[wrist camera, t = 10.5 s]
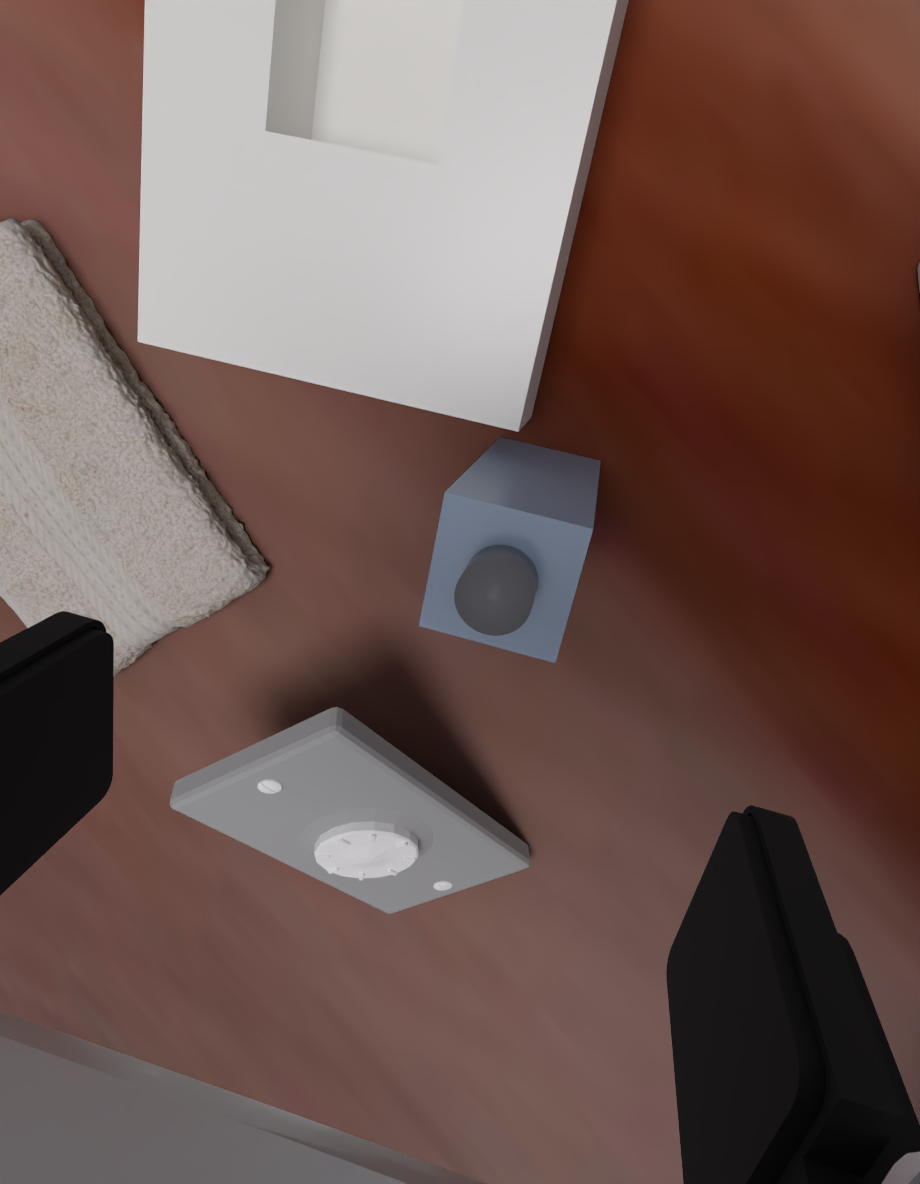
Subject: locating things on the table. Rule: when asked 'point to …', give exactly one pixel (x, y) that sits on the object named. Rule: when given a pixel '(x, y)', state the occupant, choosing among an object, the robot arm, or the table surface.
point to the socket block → (369, 188)
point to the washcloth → (98, 472)
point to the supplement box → (919, 274)
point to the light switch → (351, 814)
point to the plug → (512, 548)
